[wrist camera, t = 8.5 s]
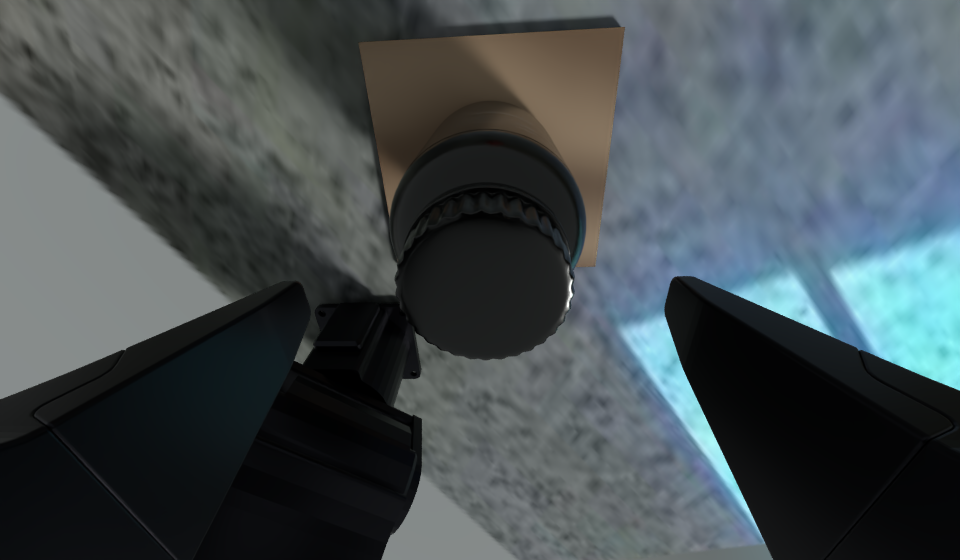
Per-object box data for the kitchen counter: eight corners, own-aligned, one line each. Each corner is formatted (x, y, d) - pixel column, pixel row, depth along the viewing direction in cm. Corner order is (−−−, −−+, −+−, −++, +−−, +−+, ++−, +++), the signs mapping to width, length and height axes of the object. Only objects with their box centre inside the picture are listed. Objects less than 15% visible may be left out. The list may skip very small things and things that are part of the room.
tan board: (593, 262, 23) (595, 266, 23) (400, 265, 24) (398, 269, 24) (621, 27, 17) (624, 27, 17) (361, 42, 18) (358, 42, 17)
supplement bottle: (403, 184, 21) (308, 313, 10) (474, 67, 18) (438, 86, 7) (504, 251, 23) (507, 417, 12) (584, 155, 19) (677, 268, 9)
